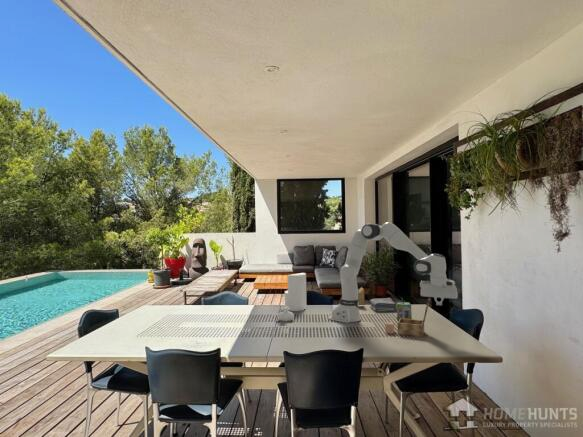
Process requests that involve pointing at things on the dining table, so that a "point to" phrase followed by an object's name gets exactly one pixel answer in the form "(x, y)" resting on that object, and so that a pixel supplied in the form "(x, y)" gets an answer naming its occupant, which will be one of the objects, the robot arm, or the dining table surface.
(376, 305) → the towel
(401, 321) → the crate
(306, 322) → the dining table surface
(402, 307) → the chalk box
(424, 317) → the lid
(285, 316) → the bust
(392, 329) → the cube
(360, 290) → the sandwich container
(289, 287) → the cylinder
